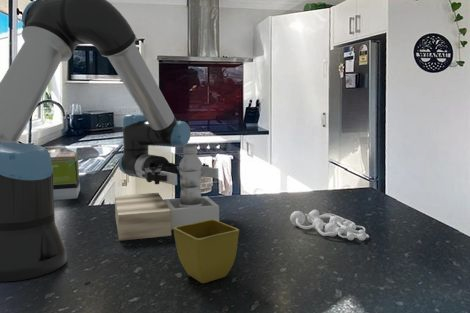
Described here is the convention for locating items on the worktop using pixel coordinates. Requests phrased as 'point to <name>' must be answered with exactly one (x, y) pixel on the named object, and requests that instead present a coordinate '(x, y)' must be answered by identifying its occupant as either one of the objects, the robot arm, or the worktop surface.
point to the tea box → (65, 175)
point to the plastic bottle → (190, 178)
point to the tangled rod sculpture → (328, 225)
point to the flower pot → (206, 249)
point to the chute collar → (192, 212)
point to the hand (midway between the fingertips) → (197, 176)
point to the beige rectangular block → (142, 216)
